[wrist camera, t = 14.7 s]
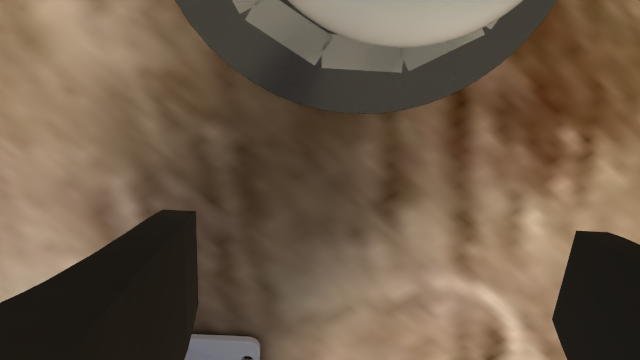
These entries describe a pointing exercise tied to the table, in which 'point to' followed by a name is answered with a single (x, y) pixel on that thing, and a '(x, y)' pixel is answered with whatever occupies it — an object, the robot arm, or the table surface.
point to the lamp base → (351, 55)
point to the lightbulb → (404, 19)
